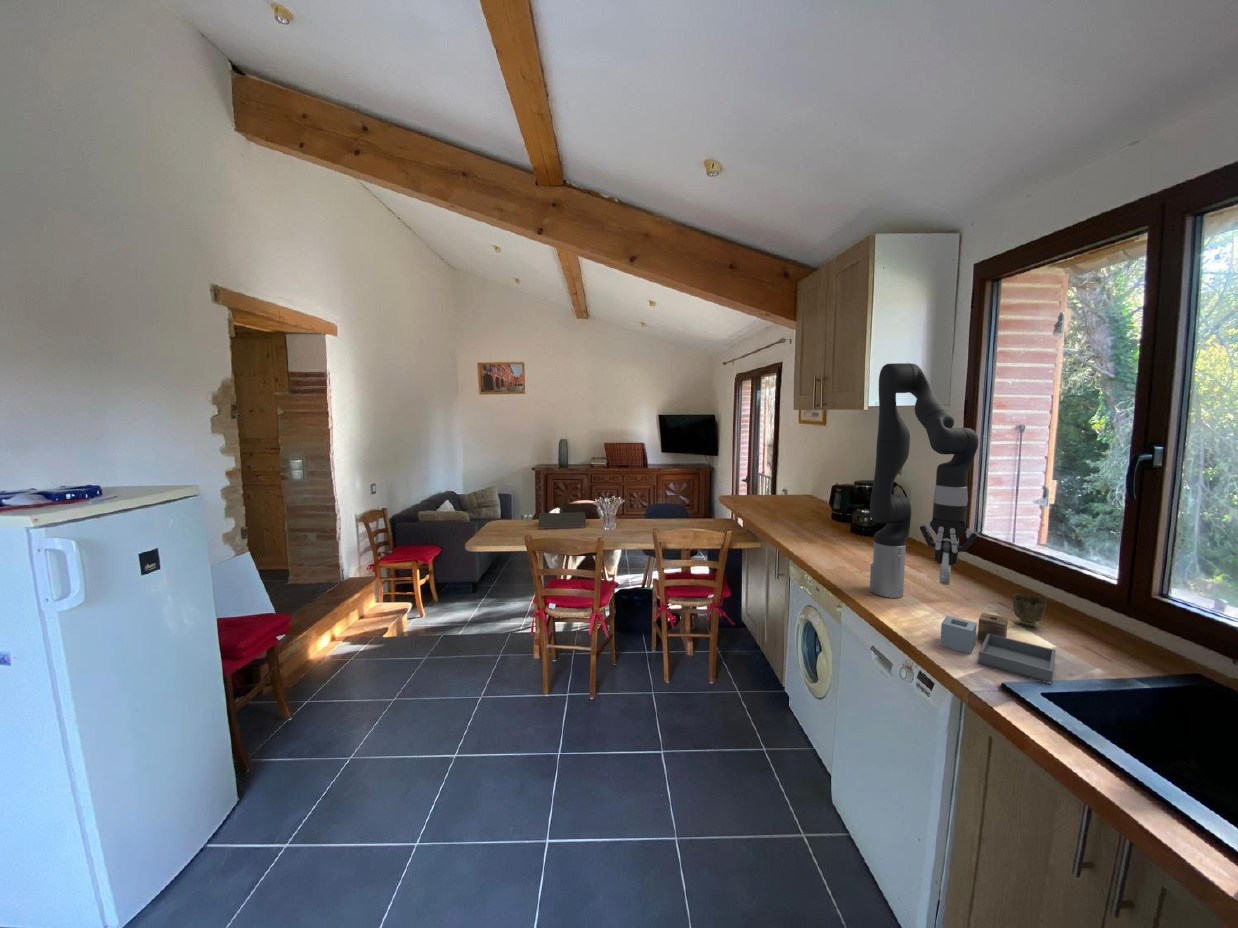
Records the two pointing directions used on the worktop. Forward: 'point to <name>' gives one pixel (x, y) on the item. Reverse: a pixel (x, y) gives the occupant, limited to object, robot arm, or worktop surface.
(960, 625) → the grey socket cube
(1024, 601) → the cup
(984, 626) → the walnut block
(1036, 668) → the tray
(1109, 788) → the worktop surface
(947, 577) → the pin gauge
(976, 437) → the robot arm
